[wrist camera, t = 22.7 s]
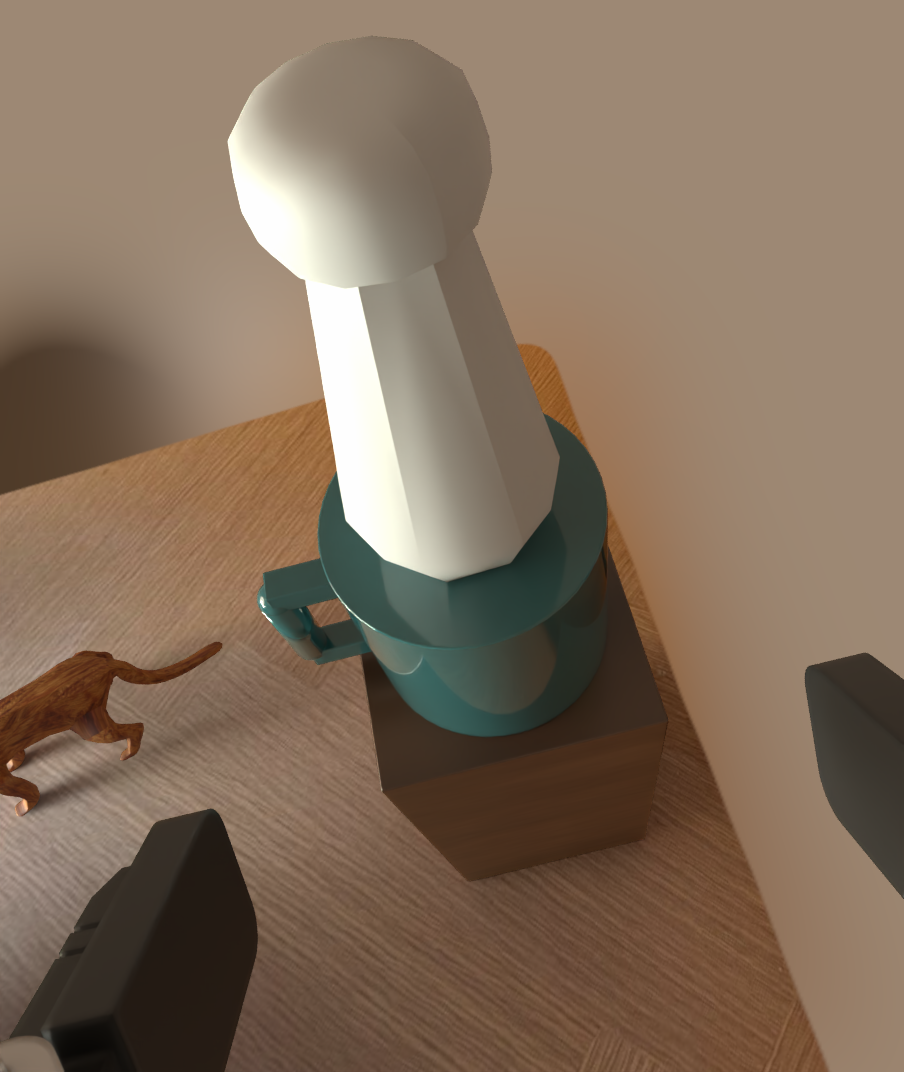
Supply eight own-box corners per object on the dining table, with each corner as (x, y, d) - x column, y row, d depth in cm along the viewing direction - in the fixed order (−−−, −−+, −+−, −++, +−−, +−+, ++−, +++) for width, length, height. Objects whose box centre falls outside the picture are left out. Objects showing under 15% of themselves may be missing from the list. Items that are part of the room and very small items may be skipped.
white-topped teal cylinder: (572, 502, 33) (562, 367, 27) (638, 704, 29) (647, 604, 22) (301, 572, 34) (222, 456, 27) (326, 781, 29) (241, 706, 23)
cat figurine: (209, 614, 58) (108, 509, 46) (250, 689, 55) (152, 596, 43) (-35, 767, 55) (-208, 697, 43) (-7, 856, 52) (-187, 806, 40)
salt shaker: (357, 617, 23) (129, 243, 12) (364, 446, 26) (185, 17, 15) (573, 598, 23) (539, 182, 11) (555, 425, 25) (515, -43, 14)
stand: (645, 839, 47) (669, 720, 29) (467, 882, 47) (380, 792, 29) (593, 671, 52) (586, 481, 34) (434, 711, 52) (342, 544, 34)
